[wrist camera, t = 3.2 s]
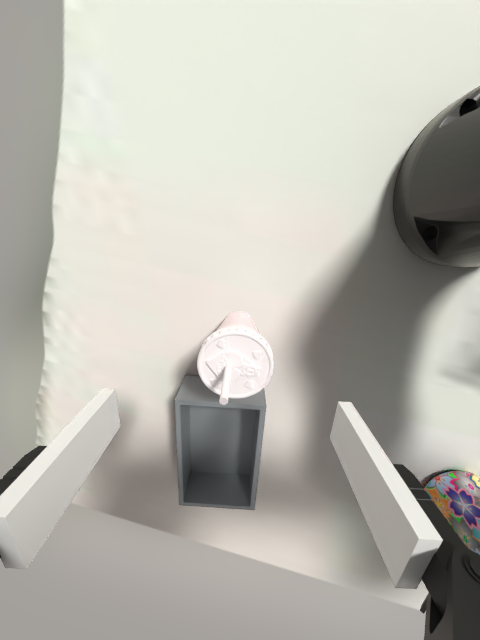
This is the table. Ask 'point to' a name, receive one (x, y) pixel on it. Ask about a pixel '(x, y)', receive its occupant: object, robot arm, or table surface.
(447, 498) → the mug
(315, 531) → the table surface
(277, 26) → the table surface
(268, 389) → the table surface
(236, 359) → the smoothie
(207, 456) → the tray
